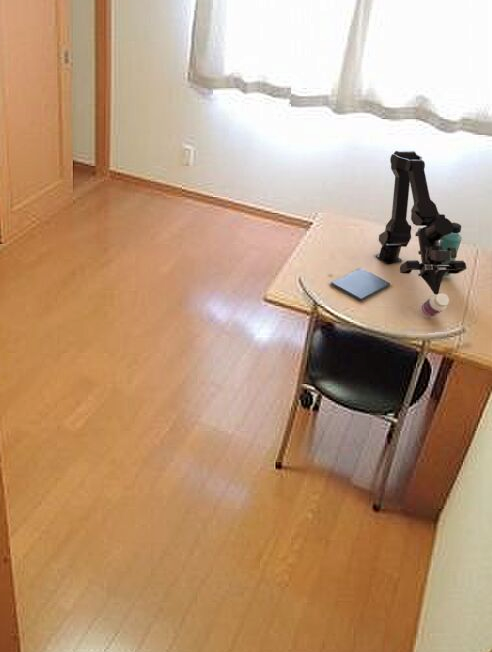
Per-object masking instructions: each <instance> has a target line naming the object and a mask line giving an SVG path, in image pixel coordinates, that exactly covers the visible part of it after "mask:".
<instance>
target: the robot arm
mask: <svg viewBox="0 0 492 652" xmlns="http://www.w3.org/2000/svg"><path fill="white" fill-rule="evenodd" d="M389 159H390V160H389V161H390V169H391V172H392V173H393V175H394V185H393V186H394V188H393V198H392V206H391V207H392V209H391V216H390V217H391V218H390V219H389V221H388V222H387V223H386V225H385V229H384V230H383V232H382V233H380V234H378V242H379V243H380V245H381V248H380V251H379V253H378V254H375V257H376V258H377V259H379V260H380V261H382V262H384V263H385V264H387V265H392V264H395V263H400V262H401V261H402V258H401V257H400V253H401V249H402V248H407V247H408V244H409V243H410V241H411V239H412V225H411V224H409V221H408V220H407V218H408V217H407V216H408V206H409V205H408V204H409V196H410V191H411V194H412V200H413V205H412V208H411V210H410V220H411V223H412V224H413V225H415V227H416V226H417V227H418V229H417V231H416V232H415V235H414V236H415V237H417V238H418V245H419V246H418V247H419V250H418V253H417V254H418V255H420V258H421V260H420V261H421V263H420V261H419V260H406V261H404V262H403V263H401V264H400V266H399V274H401V275H410V274H411V273H412V272H413V271H419V273H417V274H418V277H421V278H422V279H423V281H424V282H425V283H426V284H427V286H428V287H429V289H430V290H431V291H432V293H433V295H435V294H439V293H440V290H441V284H442V281H443V278H444V277H445V276H444V274H446V273H448V274H450V275H457V274H460V273H462V272H464V271H465V270H467V269H468V268H467V263H466V262H465V261H464V260H455V261H451V258H455V259H457V255H458V252H457V251H456V248H454V247H448V248H447V250H443V248H442V246H439V243H440V240H441V239H443V238H444V237H446V236H447V235H449V234H450V233H451V232H452V231H453V224H452V223H453V222H452V221H451V220H450V219H448V218H447V217H446V215H445V214H441V213H440V212H439V211H438V207H437V205H436V203H435V202H434V201H433V200H432V199H431V196H430V192H429V187H428V181H427V175H426V172H425V168H426V164H425V161H424V160H423V157H422V156H421V155H419V154H417V153H416V151H414V150H395V151H394V152H393V153H392V154H391V155H390V158H389ZM410 189H411V190H410ZM421 226H422V227H421ZM446 261H451V262H449V263H448V264H442V263H444V262H446Z"/></svg>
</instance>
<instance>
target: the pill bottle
mask: <svg viewBox="0 0 492 652" xmlns="http://www.w3.org/2000/svg"><path fill="white" fill-rule="evenodd" d="M449 303H450V298H449V296H448V295H447V294H446V293H443V292H439V293H438V294H433V295H431V296H430V297H429V298H427V299H426V300H425V301H424V302H422V304H420V312H421V314H422V315H423V316H425V317H427V318H434V317H436V316H438V315H439V314H440V313H442V312H443V311H445V310H446V308H447V307H448V305H449Z"/></svg>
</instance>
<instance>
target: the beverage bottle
mask: <svg viewBox="0 0 492 652" xmlns="http://www.w3.org/2000/svg"><path fill="white" fill-rule="evenodd" d="M451 223H452V224H453V231H452V232H451V233H450V234H449V235H447V236H446V237H444V238H443V239H441V240H439V246H442V248H443V250H447V248H448V247H454V248H456V251H457V253H458V252H459V250H460V249H459V248H460V245H461V242H462V240H463V237H462V236H461V234H460V233H461V231H462V225H461V224H460V223H457V222H451ZM451 261H456V258H451ZM451 261H446V262H444V263H442V264H448V263H449V262H451ZM450 275H451V274H448V273H446V274H444V276H443V277H449V276H450Z"/></svg>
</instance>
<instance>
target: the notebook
mask: <svg viewBox="0 0 492 652" xmlns="http://www.w3.org/2000/svg"><path fill="white" fill-rule="evenodd" d="M330 286H331V287H333V288H335V289H337V290H339V291H341V292H342V293H344V294H346V295H348V296H349V297H351V298H352V299H355V300H357V301H359V302H363V301H364V300H366V299H368V298H370V297H372V296H374V295H376V294H377V293H379V292H382V291H383V290H385V289H387V288H389V287H390V286H391V282H389V281H387V280H385V279H383V278H382V277H380V276H378V275H376V274H374V273H372V272H370V271H368V270H366V269H364V268H362V267H359V268H357V269H355V270H353V271H351V272H349V273H347V274H345V275H343V276H341V277H339V278H337V279H335V280H333V281H331V282H330Z"/></svg>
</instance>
